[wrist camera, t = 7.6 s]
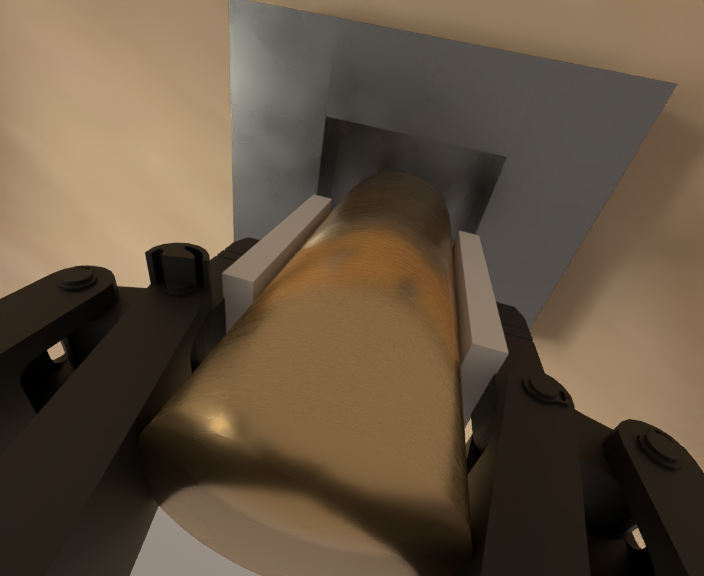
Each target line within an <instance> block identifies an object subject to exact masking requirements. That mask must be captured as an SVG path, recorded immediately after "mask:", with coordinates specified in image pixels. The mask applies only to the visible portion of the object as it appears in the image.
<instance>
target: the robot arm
mask: <svg viewBox="0 0 704 576" xmlns="http://www.w3.org/2000/svg"><path fill="white" fill-rule="evenodd" d="M331 204H332V199H330V198H326V197H322V196H318V195H312V196H311V197H310V198H309V199H308V200H307V201H305V202H304V203H303V204H302V205H301V206H300V207H298V208H297V209H296V210H295V211H294V212H293V213H291V214H290V215H289V216H288V217H287V218H286V219H284V220H283V221H282V222H281V223H280V224H279V225H278V226H276V227H275V228H274V229H273V230H272V231H271V232H269V233H268V234H267V235H266V236H265V237H264V238H262V239H261V240H258V239H254V238H250V237H247V238H244V239H241V240H238V241H235V242H234V243H232V244H231V245H230V246H228V247H227V248H226V249H225V250H223V251H222V252H220V253H219V254H218V255H217V256H215V257H214V258H212V259H211V260H210V258H209V254H208V252H207V251H206V250H205V249H204V248H202V247H200V246H197V245H193V244H189V243H169V244H162V245H159V246H156V247H153V248H151V249H150V250H148V251H146V252H145V255H146V260H147V266H148V271H149V276H150V282H151V284H150V285H149V287H148V288H135V287H121V286H117V284H116V280H115V276H114V275H113V273H112V272H111V271H110V270H108V269H106V268H103V267H97V266H86V265H85V266H75V267H72V268H66V269H63V270H60V271H57V272H55V273H52V274H50V275H48V276H46V277H44V278H42V279H40V280H38V281H36V282H34V283H32V284H30V285H28V286H26V287H24V288H22V289H20V290H18V291H16V292H14V293H12V294H10V295H7V296H5V297H3V298H1V299H0V576H130V573H131V571H132V569H133V566H134V564H135V561H136V559H137V557H138V554H139V552H140V549H141V547H142V544H143V542H144V540H145V537H146V535H147V533H148V530H149V528H150V525H151V523H152V520H153V518H154V516H155V513H156V511H157V508H158V506H159V505H158V504H157V502H156V501H155V500H154V498H153V496H152V493H151V489H150V486H149V483H148V480H147V476H146V473H145V470H144V467H143V463H142V460H141V457H140V454H139V450H138V447H137V442H138V438H139V437H140V435H141V433H142V432H143V430H144V429H145V427H146V426H147V425H148V424H149V423H150V422H151V421H152V419H153V418H154V417H155V416H156V415H157V414H158V412H159V411H160V410H161V409H162V408H163V407H164V405H165V404H166V403H167V402H168V401H169V400H170V399H171V397H172V396H173V395H174V394H175V393H176V392H177V390H178V389H179V388H180V387H181V386H182V385H183V383H184V382H185V381H186V380H187V379H188V378H189V376H190V375H191V374H192V373H193V372H194V371H195V370H196V368H197V367H198V366H199V365H200V364H201V363H202V361H203V360H204V359H205V358H206V357H207V356H208V354H209V353H210V352H211V351H212V350H213V349H214V348H215V346H216V345H217V344H218V343H219V342H220V341H221V339H222V338H223V337H224V336H225V335H226V334H227V332H228V331H229V330H230V329H231V328H232V327H233V326H234V324H235V323H236V322H237V321H238V320H239V319H240V317H241V316H242V315H243V314H244V313H245V312H246V310H247V309H248V308H249V307H250V306H251V305H252V304H253V302H254V301H255V300H256V299H257V298H258V297H259V295H260V294H261V293H262V292H263V291H264V290H265V288H266V287H267V286H268V285H269V284H270V283H271V281H272V280H273V279H274V278H275V277H276V276H277V275H278V273H279V272H280V271H281V270H282V269H283V268H284V266H285V265H286V264H287V263H288V262H289V261H290V259H291V258H292V257H293V256H294V255H295V254H296V253H297V251H298V250H299V249H300V248H301V247H302V246H303V244H304V243H305V242H306V241H307V240H308V239H309V237H310V236H311V235H312V234H313V233H314V232H315V231H316V229H317V228H318V227H319V226H320V225H321V224H322V222H323V221H324V220H325V219H326V218H327V217H328V215H329V214H330V211H331ZM452 252H453V267H454V281H455V296H456V311H457V326H458V341H459V356H460V370H461V385H462V400H463V415H464V428H465V427H466V425H467V423H468V422H469V420H470V418H471V420H472V431H473V434H472V435H471V437H470V438H469V440H468V442H467V443H466V460H467V474H468V489H469V504H470V519H471V534H472V549H473V556H472V560H471V561H470V562H469V563H468V564H467V565H466V566H465V567H464V568H463V569H462V570H461V571H460V572H459V573H458V575H457V576H704V473H703V471H702V470H701V468H700V467H699V465H698V464H697V462H696V461H695V460H694V459H693V458H692V456H691V455H690V454H689V453H688V452H687V450H686V449H685V448H684V447H683V446H681V445H680V444H679V443H678V442H677V441H676V440H674V438H672V437H671V436H670V435H668V434H667V433H664V432H663V431H662V430H660V429H658V428H656V427H654V426H652V425H650V424H647V423H645V422H642V421H638V420H631V419H628V420H625V421H622V422H621V423H620V424H619V425H618V426H617V427H616V428H615V429H614V430H613V429H611V428H609V427H607V426H605V425H603V424H601V423H599V422H597V421H595V420H593V419H591V418H589V417H587V416H585V415H584V414H582V413H580V412H578V411H577V410H575V407H574V403H573V401H572V398H571V396H570V394H569V393H568V392H567V391H566V389H565V388H564V387H563V386H562V385H561V384H560V383H558V382H557V381H556V380H555V379H554V378H552V377H550V376H549V375H547V374H545V373H544V370H543V367H542V364H541V361H540V359H539V356H538V353H537V350H536V347H535V345H534V342H532V341H533V339H532V336H531V333H530V332H529V328H528V325H527V322H526V320H525V318H524V317H523V316H522V314H521V313H520V312H519V311H518V310H517V309H516V308H515V307H514V306H510V305H506V304H502V303H499V302H496V301H495V297H494V293H493V289H492V285H491V281H490V277H489V273H488V269H487V265H486V261H485V257H484V253H483V249H482V245H481V241H480V237H479V235H475V234H471V233H467V232H463V231H459V232H458V234H457V237H456V240H455V242H454V245H453V248H452ZM59 341H61V344H62V346H63V349H64V351H65V354H64V355H62V356H61V357H59V358H57V359H55V360H52V359H51V358H50V356H49V354H48V352H47V350H48V349H49V348H51V347H52V346H53V345H55V344H56V343H58V342H59ZM637 528H638V529H639V531H640V533H641V535H642V538H643V540H644V542H645V545H646V547H645V548H644V549H641V548H640V547H639V546H638V544H637V542H636V541H635V538H634V536H633V534H632V531H634V530H635V529H637Z"/></svg>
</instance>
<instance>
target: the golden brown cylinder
mask: <svg viewBox="0 0 704 576" xmlns="http://www.w3.org/2000/svg"><path fill="white" fill-rule="evenodd" d="M137 447H138V450H139V454H140V457H141V460H142V463H143V467H144V470H145V473H146V476H147V480H148V483H149V486H150V489H151V493H152V496H153V498H154V500H155V501H156V502H157V504H158V505H159V506H160V507H161V508H162V509H163V510H164V511H165V512H166V513H167V515H169V516H170V517H171V518H172V519H173V520H174V521H175V522H176V523H177V524H179V526H180V527H182V528H183V529H184V530H185V531H187V532H188V533H189V534H191V535H192V536H193V537H195V538H196V539H197V540H199V541H200V542H201V543H203V544H204V545H206V546H207V547H209V548H210V549H212V550H214V551H215V552H217V553H219V554H220V555H222V556H224V557H225V558H227V559H229V560H231V561H233V562H234V563H236V564H238V565H240V566H242V567H244V568H246V569H248V570H250V571H252V572H255V573H257V574H259V575H262V576H457V575H458V573H459V572H460V571H461V570H462V569H463V568H464V567H465V566H466V565H467V564H468V563H469V562H470V561H471V560H472V556H473V549H472V534H471V519H470V504H469V489H468V474H467V460H466V445H465V430H464V415H463V400H462V385H461V370H460V356H459V341H458V326H457V311H456V296H455V281H454V267H453V252H452V237H451V222H450V216H449V212H448V209H447V206H446V204H445V202H444V200H443V199H442V197H441V195H440V194H439V193H438V192H437V191H436V189H435V188H434V187H432V186H431V185H430V184H429V183H427V182H426V181H424V180H423V179H421V178H419V177H417V176H415V175H412V174H408V173H404V172H395V171H389V172H382V173H377V174H374V175H372V176H369V177H367V178H365V179H363V180H362V181H360V182H359V183H358V184H356V185H355V186H354V187H353V188H352V189H351V190H350V191H349V192H348V193H347V195H346V196H345V197H344V198H343V199H342V200H341V202H340V203H339V204H338V205H337V206H336V207H335V208H334V210H333V211H332V212H331V213H330V214H329V215H328V217H327V218H326V219H325V220H324V221H323V222H322V224H321V225H320V226H319V227H318V228H317V229H316V231H315V232H314V233H313V234H312V235H311V236H310V237H309V239H308V240H307V241H306V242H305V243H304V244H303V246H302V247H301V248H300V249H299V250H298V251H297V253H296V254H295V255H294V256H293V257H292V258H291V259H290V261H289V262H288V263H287V264H286V265H285V266H284V268H283V269H282V270H281V271H280V272H279V273H278V275H277V276H276V277H275V278H274V279H273V280H272V281H271V283H270V284H269V285H268V286H267V287H266V288H265V290H264V291H263V292H262V293H261V294H260V295H259V297H258V298H257V299H256V300H255V301H254V302H253V304H252V305H251V306H250V307H249V308H248V309H247V310H246V312H245V313H244V314H243V315H242V316H241V317H240V319H239V320H238V321H237V322H236V323H235V324H234V326H233V327H232V328H231V329H230V330H229V331H228V332H227V334H226V335H225V336H224V337H223V338H222V339H221V341H220V342H219V343H218V344H217V345H216V346H215V348H214V349H213V350H212V351H211V352H210V353H209V354H208V356H207V357H206V358H205V359H204V360H203V361H202V363H201V364H200V365H199V366H198V367H197V368H196V370H195V371H194V372H193V373H192V374H191V375H190V376H189V378H188V379H187V380H186V381H185V382H184V383H183V385H182V386H181V387H180V388H179V389H178V390H177V392H176V393H175V394H174V395H173V396H172V397H171V399H170V400H169V401H168V402H167V403H166V404H165V405H164V407H163V408H162V409H161V410H160V411H159V412H158V414H157V415H156V416H155V417H154V418H153V419H152V421H151V422H150V423H149V424H148V425H147V426H146V427H145V429H144V430H143V432H142V433H141V435H140V437H139V438H138V442H137Z"/></svg>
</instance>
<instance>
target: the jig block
mask: <svg viewBox="0 0 704 576" xmlns="http://www.w3.org/2000/svg"><path fill="white" fill-rule="evenodd" d="M229 37H230V83H231V129H232V176H233V222H234V242H235V241H238V240H241V239H244V238H247V237H250V238H254V239H258V240H261V239H262V238H264V237H265V236H266V235H267V234H268V233H269V232H271V231H272V230H273V229H274V228H275V227H276V226H278V225H279V224H280V223H281V222H282V221H283V220H284V219H286V218H287V217H288V216H289V215H290V214H291V213H293V212H294V211H295V210H296V209H297V208H298V207H300V206H301V205H302V204H303V203H304V202H305V201H307V200H308V199H309V198H310V197H311V196H312V195H318V196H322V197H326V198H330V199H332V204H331V211H330V213H331V212H332V211H333V210H334V208H335V207H336V206H337V205H338V204H339V203H340V202H341V200H342V199H343V198H344V197H345V196H346V195H347V193H348V192H349V191H350V190H351V189H352V188H353V187H354V186H355V185H356V184H358V183H359V182H360V181H362V180H363V179H365V178H367V177H369V176H372V175H374V174H377V173H382V172H389V171H395V172H404V173H408V174H412V175H415V176H417V177H419V178H421V179H423V180H424V181H426V182H427V183H429V184H430V185H431V186H432V187H434V188H435V189H436V191H437V192H438V193H439V194H440V195H441V197H442V199H443V200H444V202H445V204H446V206H447V209H448V212H449V216H450V222H451V237H452V248H453V245H454V242H455V240H456V237H457V234H458V232H459V231H463V232H467V233H471V234H475V235H479V237H480V241H481V245H482V249H483V253H484V257H485V261H486V265H487V269H488V273H489V277H490V281H491V285H492V289H493V293H494V297H495V301H496V302H499V303H502V304H506V305H510V306H514V307H515V308H516V309H517V310H518V311H519V312H520V313H521V314H522V316H523V317H524V318H525V320H526V322H527V325H528V328H529V329H530V327H531V326H532V324H533V322H534V321H535V319H536V317H537V316H538V314H539V312H540V311H541V309H542V308H543V306H544V304H545V303H546V301H547V299H548V298H549V296H550V294H551V293H552V291H553V289H554V288H555V286H556V284H557V283H558V281H559V279H560V278H561V276H562V274H563V273H564V271H565V269H566V268H567V266H568V264H569V263H570V261H571V260H572V258H573V256H574V255H575V253H576V251H577V250H578V248H579V246H580V245H581V243H582V241H583V240H584V238H585V236H586V235H587V233H588V231H589V230H590V228H591V226H592V225H593V223H594V221H595V220H596V218H597V216H598V215H599V213H600V212H601V210H602V208H603V207H604V205H605V203H606V202H607V200H608V198H609V197H610V195H611V193H612V192H613V190H614V188H615V187H616V185H617V183H618V182H619V180H620V178H621V177H622V175H623V173H624V172H625V170H626V168H627V167H628V165H629V164H630V162H631V160H632V159H633V157H634V155H635V154H636V152H637V150H638V149H639V147H640V145H641V144H642V142H643V140H644V139H645V137H646V135H647V134H648V132H649V130H650V129H651V127H652V125H653V124H654V122H655V120H656V119H657V117H658V116H659V114H660V112H661V111H662V109H663V107H664V106H665V104H666V102H667V101H668V99H669V97H670V96H671V94H672V92H673V91H674V89H675V87H676V86H677V84H675V83H670V82H664V81H659V80H654V79H649V78H644V77H639V76H634V75H629V74H623V73H618V72H613V71H608V70H603V69H598V68H593V67H587V66H582V65H577V64H572V63H567V62H562V61H557V60H552V59H546V58H541V57H536V56H531V55H526V54H521V53H516V52H511V51H505V50H500V49H495V48H490V47H485V46H480V45H475V44H470V43H464V42H459V41H454V40H449V39H444V38H439V37H434V36H429V35H423V34H418V33H413V32H408V31H403V30H398V29H393V28H387V27H382V26H377V25H372V24H367V23H362V22H357V21H352V20H346V19H341V18H336V17H331V16H326V15H321V14H316V13H311V12H305V11H300V10H295V9H290V8H285V7H280V6H275V5H270V4H264V3H259V2H254V1H249V0H229Z"/></svg>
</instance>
